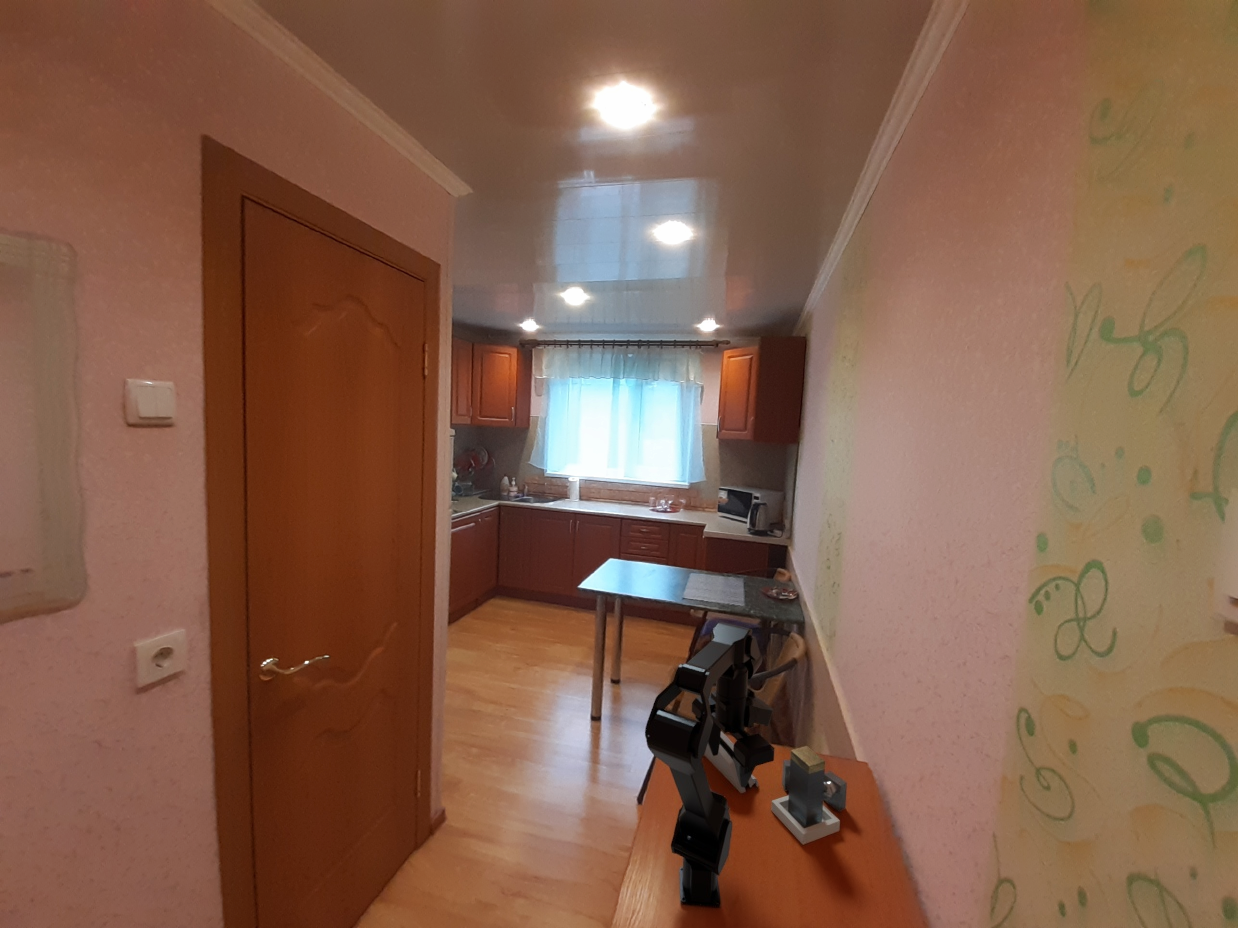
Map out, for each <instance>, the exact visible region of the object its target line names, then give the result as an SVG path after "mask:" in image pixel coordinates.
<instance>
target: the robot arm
mask: <svg viewBox="0 0 1238 928" xmlns="http://www.w3.org/2000/svg"><path fill="white" fill-rule="evenodd" d="M752 634H753V629H752V628H749V627H745V626H741V625H736V624H732V623H727V622H723V621H719V622H718V623H717V624H716V625H715V626H714V627H712V631H711V632H710V634H709V639H710V641H709V643H708V644H706V645H705V646H704V647H703V648H702V649H701V650H700V651H699V652H698V653H696V654H695V655H694V656H693V657H692V658H691V659H690V660H689V661H687V662H686V663H680V664H679V665H678V666H677V668H676V670H675V674H674V677H673V680H672V681H671V682H670V683H669V684H668V685H667V686H666V687H665V688H664V689H663V690H662V691H661V692H659V693H658V695H657V696H656V697H655V699H654V702H653V705H652V707H651V711H650V713H649V715H648V718H647V722H646V723H645V730H644V736H645V739H646V741H645V742H646V745H647V748H648V749H649V750H650V752H651V753H652V754H653V756H654V757H655V758H656V759H658V760H660V761H661V762H662V763H664V764H665V765H666V766H667V767H669V770H670V773H671V776H672V778H673V781H674V783H675V786H676V788H677V792H678V793H679V796H680V799H681V801H682V805H681V807H680V808H679V810H678V814H677V818H676V822H675V826H674V830H673V836H672V839H671V843H670V847H671V853H673V854H675V855H677V856H680V857H682V866H680V867H679V869H678V870H679V871H678V873H679V896H680V897H679V899H680V903H681V904H682V905H688V906H699V907H709V908H721V905H722V903H721V894H720V886H719V878H718V877H720V876H721V873H722V872H723V869H724V867H725V865H726V862H727V860H728V858H729V856H730V847H731V840H732V833H733V820H731V814H730V812H729V811H730V808H731V807H730V806H729V805H728V800H727V798H726V796H725V795H723V794H720V793H718V792H715V791H713V790H711V787H710V783H709V780H708V777H707V774H706V770H705V767H704V765H703V761H702V760H703V758H704V757H705V755H704V754H705V751H706V748H707V744H708V746H709V748H710V751H711V753H712V755H713V756H716V755H718V751H719V745H720V735H721V731H722V732H723V733H724V734H725V733H726V734H727V733H729V734H730V735H731V736H732V737H733V738H734V739H735V740H736V741H735V743H733V744H734V748H733V751H734V754H735V755H734V756H733V760H734V764H735V768H736V772H737V776H738V780H739V783H740V786H741V787H745V786H746V787H747V783H748V781H749V779H750V777H751V775H753V773H754V770H755V769H756V767H758V766H761V765H764V764H767V763H770V762H774V761H775V747H774V746H773V745H772V744H770V742H768V741H767V740H766V739H765V738H764V736H762V735H761V734H759V733H755V734H750V733H749V732H747V731H746V730H745V729H746V728H747V729H752V728H754V727H755V724H756V725H757V724H758V725H764V727H769V726H770V722H771V720H772V716H773V714H774V711H775V710H774V708H772V707H771V705H769V704H768V703H766V702H765V701H764V700H763V699H760V698H759V697H758V696H756V694H755V692H754V690H752V689H751V688H750V687H748V684H749V683H748V680H751V679H752V677H754V675H755V673H756V672H757V670H758V669H759V667H760V666H761V665H762V662H763V654H762V652H761V650H760V648H759V645H758V640H757V637H756V636H755V635H752ZM714 684H715V691H712V688H713V685H714ZM682 692H687V693H689V694H693V695H696V696H697V697H695V698H694V700H692V702H691V713H692V714H693V715H695V716H694V717H695V719H693V718H691V717H687V716H685V715H682V714H678V713H676V712H673V711H670V710H667V709H666V708H667V707H668V706H669V705H670V704H671V703H672V702H673V701H674V700H675V699H676V698H677V697H678V696H679V695H681V694H682Z"/></svg>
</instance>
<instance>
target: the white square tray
mask: <svg viewBox="0 0 1238 928" xmlns="http://www.w3.org/2000/svg"><path fill="white" fill-rule="evenodd" d="M788 800H789V794H787V795H786V796H785V795H784V796H782V797H779V798H776V799H773V800H771V804H770V805H771V806H770V808H771V809H770V810H771V812H772V813H773V814H774V815H775V816H776V817H777V818H778V820H780V822H781V823H782V824H783V825H784V826H785V827H786V828H787V829H788V830H789V832H791V834H792V835H793V836H794V837H795V838H796V840H798V841H799V842H800V844H801V845H802V846H803V845H805V844H809V843H811V842H814V841H816V840H819V839H821V838H824V837H826V836H829V835H832V834H835V833H838V832H840V824H841V820H840V819H839V818H838V817H837V816H836V815H835V814H833V813H832V812H831V811H830V809H828V808H827V807H826V806H825V805H824V804H823V812H822V822H821V823H818V824H815V825H813V826H810V827H807V828H803V826H802V825H801V824H800V823H799V822H798V821H797V820H796V819H795V818H794V817H793V816H792V815H791V814H790V813H789V812H788Z"/></svg>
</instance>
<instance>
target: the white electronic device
mask: <svg viewBox="0 0 1238 928" xmlns="http://www.w3.org/2000/svg"><path fill="white" fill-rule="evenodd" d="M734 744H735V743H734V742H732V741H731V740H730V738H729V737H728V736H727V735H726V734H725V733H724V732H723V731H722V730H721V735H720V745H719V751H718V755H716V756H713V755H712V753H711V751H710V748H709V746H708V744H707V748H706V751H705V754H704V757H706V759H708V761H710V763H711V764H712V765H713V766H714V767H715V768H716V769H717V770H718V771H719V772H720V773H721V774H722V775H723V776H724V777H725V779H727V780H728V782H730V783H731V785H733V787H734V788H735V789H736V790H737V791H738V792H739V793H740V794H743V793H746V789H747V787H749V788H752V787H753V785H755V786H756V787H759V782H758V781H759V780H758V779H757V778H756V776H754V775H753V774H752V775H751V777H750V779H749V781H748V783H747V785H746V786H745V787H741V786H740V783H739V780H738V776H737V772H736V768H735V764H734V760H733V756H734V755H735V754H734V751H733V748H734Z"/></svg>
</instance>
